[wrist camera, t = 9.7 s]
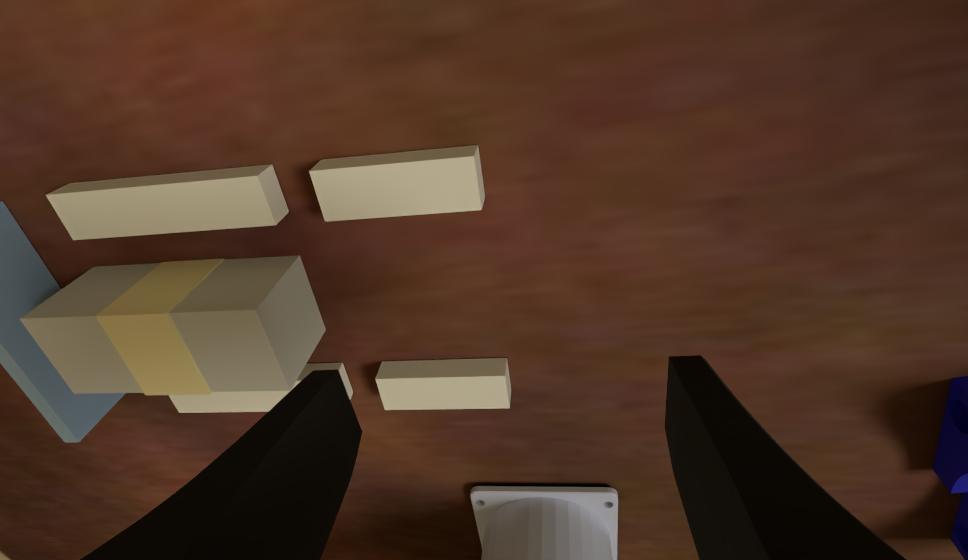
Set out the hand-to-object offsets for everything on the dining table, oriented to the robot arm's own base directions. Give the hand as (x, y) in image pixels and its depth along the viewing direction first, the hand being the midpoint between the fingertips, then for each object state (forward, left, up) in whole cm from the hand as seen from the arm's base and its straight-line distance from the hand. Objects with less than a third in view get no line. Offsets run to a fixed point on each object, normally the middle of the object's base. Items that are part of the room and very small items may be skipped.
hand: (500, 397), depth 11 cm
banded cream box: (-3, +15, -10) cm, 18 cm away
